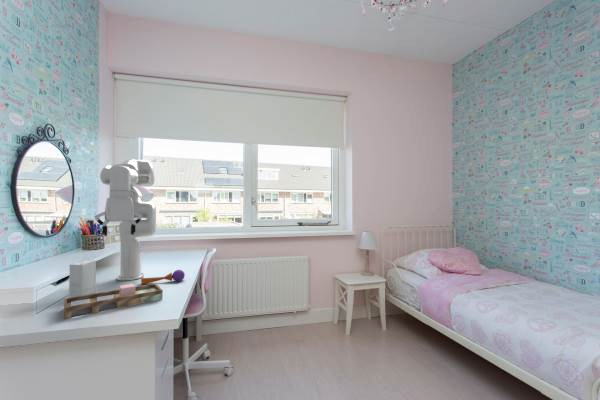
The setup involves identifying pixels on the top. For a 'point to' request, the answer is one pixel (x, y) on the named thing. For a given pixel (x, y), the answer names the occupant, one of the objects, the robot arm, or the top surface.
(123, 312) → the top surface
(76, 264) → the skincare box
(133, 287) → the rose block
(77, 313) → the box
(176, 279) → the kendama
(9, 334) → the top surface
